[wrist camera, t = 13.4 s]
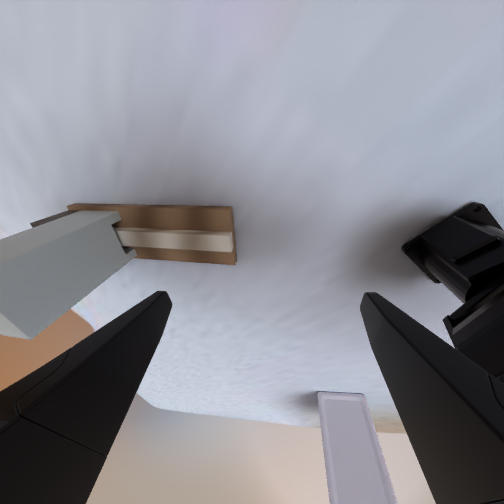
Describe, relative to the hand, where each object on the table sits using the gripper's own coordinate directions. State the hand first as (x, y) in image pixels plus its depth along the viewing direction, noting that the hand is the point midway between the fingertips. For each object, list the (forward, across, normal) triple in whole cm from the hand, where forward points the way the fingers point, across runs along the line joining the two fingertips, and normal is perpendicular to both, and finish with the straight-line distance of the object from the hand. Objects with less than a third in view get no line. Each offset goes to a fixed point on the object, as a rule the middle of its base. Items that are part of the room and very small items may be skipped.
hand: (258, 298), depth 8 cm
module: (+12, +20, +2) cm, 24 cm away
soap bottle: (+12, -13, +42) cm, 45 cm away
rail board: (+13, +14, +2) cm, 19 cm away
